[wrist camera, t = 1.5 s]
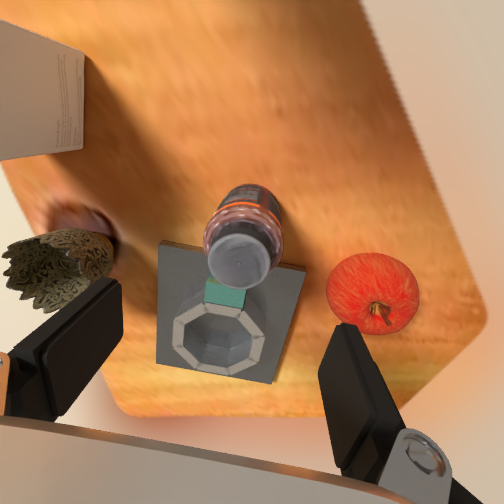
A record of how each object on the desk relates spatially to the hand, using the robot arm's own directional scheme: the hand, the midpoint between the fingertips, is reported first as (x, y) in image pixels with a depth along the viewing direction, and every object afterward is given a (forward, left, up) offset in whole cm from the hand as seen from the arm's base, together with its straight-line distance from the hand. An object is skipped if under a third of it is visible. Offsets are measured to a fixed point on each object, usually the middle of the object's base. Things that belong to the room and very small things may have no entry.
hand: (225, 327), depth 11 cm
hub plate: (+14, -1, -17) cm, 22 cm away
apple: (+4, +13, -17) cm, 22 cm away
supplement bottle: (0, 0, -17) cm, 17 cm away
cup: (+7, -16, -17) cm, 24 cm away
